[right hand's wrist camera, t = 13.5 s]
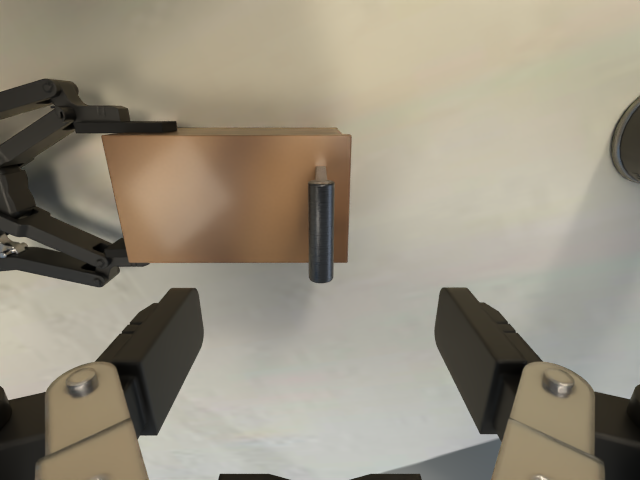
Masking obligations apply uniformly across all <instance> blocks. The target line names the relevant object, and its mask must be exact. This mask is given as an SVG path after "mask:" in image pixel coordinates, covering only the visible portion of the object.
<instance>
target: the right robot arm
mask: <svg viewBox="0 0 640 480" xmlns="http://www.w3.org/2000/svg"><path fill="white" fill-rule="evenodd" d="M612 157H613V161H614V164H615V166H616V168H617V170H618V171H619V172H620V174H622V175H623V176H624V177H625V178H627V179H628V180H630V181H633V182H636V183H640V97H639V98H638V99H637V100H636V101H635V102H634V103H633V104H632V105H631V106H630V107H629V108H628V109H627V110H626V112H625V113H624V115H623V116H622V118H621V119H620V121H619V123H618V125H617V128H616V130H615V133H614V136H613V141H612ZM203 336H204V329H203V321H202V314H201V307H200V300H199V294H198V291H197V289H196V288H171V289H170V290H169V291H168V292H167V293H166V295H165V296H164V297H163V298H162V299H161V301H160V302H159V303H153V304H152V305H150V306H148V307H147V308H145V309H144V310H142V311H140V312H139V313H138V314H137V315H136V316H135V317H134V319H133V320H132V321H131V322H130V325H127V326H126V328H125V329H124V330H123V331H122V334H119V335H118V336H117V338H116V339H115V340H114V341H113V342H112V343H111V344H110V345H109V347H108V348H107V349H106V350H105V351H104V352H103V353H102V354H101V356H100V357H99V358H98V359H97V360H96V361H95V362H91V363H87V364H84V365H80V366H78V367H75V368H73V369H71V370H69V371H67V372H65V373H64V374H62V375H61V376H59V377H58V378H57V379H56V380H54V381H53V382H52V384H51V385H50V386H49V387H48V389H47V391H46V392H44V393H39V394H35V395H30V396H26V397H21V398H17V399H12V400H8V399H7V396H6V394H5V392H4V389H3V388H2V387H1V386H0V480H149V478H148V475H147V471H146V468H145V464H144V461H143V457H142V454H141V450H140V447H139V443H138V438H139V436H140V435H158V433H159V431H160V429H161V427H162V425H163V423H164V421H165V419H166V417H167V415H168V413H169V411H170V409H171V407H172V405H173V403H174V401H175V399H176V397H177V395H178V393H179V391H180V389H181V387H182V385H183V383H184V381H185V379H186V377H187V375H188V373H189V371H190V369H191V367H192V365H193V363H194V361H195V359H196V357H197V355H198V353H199V351H200V349H201V346H202V343H203ZM435 341H436V345H437V347H438V350H439V352H440V354H441V356H442V358H443V360H444V362H445V364H446V366H447V368H448V370H449V372H450V374H451V376H452V378H453V380H454V382H455V384H456V386H457V388H458V390H459V392H460V394H461V396H462V398H463V400H464V402H465V404H466V406H467V408H468V410H469V412H470V414H471V416H472V418H473V420H474V422H475V424H476V426H477V428H478V430H479V432H480V434H498V436H499V438H500V440H501V442H502V444H501V447H500V450H499V454H498V457H497V461H496V464H495V468H494V471H493V475H492V478H491V480H640V385H637V386H636V387H635V389H634V392H633V394H632V397H631V399H626V398H621V397H617V396H612V395H608V394H603V393H598V392H594V391H593V389H592V387H591V386H590V385H589V384H588V382H587V381H586V380H584V379H583V378H582V377H581V376H579V375H578V374H576V373H575V372H573V371H571V370H569V369H567V368H565V367H562V366H560V365H556V364H553V363H549V362H543V361H542V360H541V359H540V358H539V357H538V355H537V354H536V353H535V352H534V351H533V350H532V349H531V348H530V346H529V345H528V344H527V343H526V342H525V341H524V340H523V339H522V337H521V336H520V335H519V334H518V333H516V332H515V330H514V328H513V327H512V326H511V325H510V324H508V322H507V320H506V319H505V318H504V317H503V316H502V315H501V314H500V313H499V311H497V310H495V309H494V308H492V307H490V306H489V305H487V304H486V303H479V301H478V300H477V299H476V298H475V297H474V295H473V294H472V293H471V292H470V291H469V289H468V288H442V289H441V291H440V294H439V301H438V308H437V315H436V322H435ZM218 480H289V479H286V478H282V477H278V476H275V475H271V474H220V476H219V479H218ZM351 480H422V479H421V476H420V474H369V475H365V476H362V477H358V478H354V479H351Z"/></svg>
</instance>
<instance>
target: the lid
mask: <svg viewBox="0 0 640 480" xmlns="http://www.w3.org/2000/svg"><path fill="white" fill-rule="evenodd" d="M101 137H102V141H103V146H104V151H105V155H106V160H107V164H108V169H109V173H110V178H111V182H112V187H113V192H114V196H115V201H116V205H117V210H118V214H119V219H120V224H121V228H122V233H123V237H124V242H125V246H126V251H127V256H128V260H129V263H309V278H310V280H311V281H313V282H316V283H327V282H330V281H331V280H332V279H333V263H347V262H348V232H349V200H350V168H351V135H350V134H109V135H102V136H101Z"/></svg>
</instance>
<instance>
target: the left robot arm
mask: <svg viewBox="0 0 640 480" xmlns="http://www.w3.org/2000/svg"><path fill="white" fill-rule="evenodd" d="M78 93H79V90H78V87H77V86H76V84H74V83H73V82H70V81H62V80H54V79H42V80H38V81H35V82H32V83H28V84H25V85H22V86H19V87H15V88H12V89H9V90H5V91H2V92H0V119H4V118H8V117H11V116H15V115H18V114H21V113H25V112H28V111H31V110H35V109H38V108H42V107H45V106H48V105H52V104H54V105H55V106H51V108H55V109H54V110H52V111H51V112H49V113H48V114H46V115H45V116H43V117H42V118H40V119H39V120H37V121H36V122H34V123H33V124H31V125H30V126H28V127H27V128H25V129H24V130H22V131H21V132H19V133H18V134H16V135H15V136H13V137H12V138H10V139H9V140H7V141H6V142H4V143H3V144H1V145H0V271H9V270H20V271H25V272H29V273H34V274H39V275H43V276H48V277H53V278H57V279H62V280H67V281H71V282H76V283H81V284H85V285H90V286H95V287H103V286H104V285H105V284H106V283H108V282H109V281H110V280H111V279H113V278H114V277H115V276H116V275H117V274H118V273H119V272H120V269H119V267H131V266H132V267H136V266H137V267H143V266H146V265H148V264H150V263H129V260H128V256H127V251H126V246H125V242H124V238H121V239H119V240H118V241H116V242H115V243H113V244H112V243H109V242H107V241H105V240H103V239H100V238H98V237H96V236H94V235H91V234H89V233H87V232H85V231H82V230H80V229H78V228H76V227H73V226H71V225H69V224H67V223H64V222H62V221H60V220H58V219H55V218H53V217H51V216H50V215H51V214H50V213H49V212H47V211H45V210H43V209H41V208H38V207H36V204H35V201H34V198H33V196H32V194H31V192H30V191H29V189H28V178H27V175H26V172H25V170H21V169H20V168H21V167H23V166H25V165H26V164H28V163H29V162H31V161H32V160H34V157H35V156H37V155H38V154H40V153H41V152H43V151H44V150H46V149H47V148H49V147H50V146H52V145H54V144H55V143H57V142H58V141H60V140H61V139H63V138H64V137H66V136H68V135H69V134H71V133H72V132H74V131H76V133H165V132H172V131H177V125H176V121H130V117H129V112H128V109H127V108H125V107H122V106H88V105H86V104H84V103H83V102H82V101H81V99H80V98H79V96H78ZM8 234H11V235H13V236H16V237H27V238H30V239H32V240H35V241H37V242H39V243H42V244H44V245H46V246H49V247H51V248H53V249H56V250H58V251H60V252H58V251H54V250H49V249H45V248H39V247H28V245H27V244H26V243H24V242H23V243H18V242H13V241H11V240H10V239H9V238H8V237H7V235H8Z"/></svg>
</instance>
